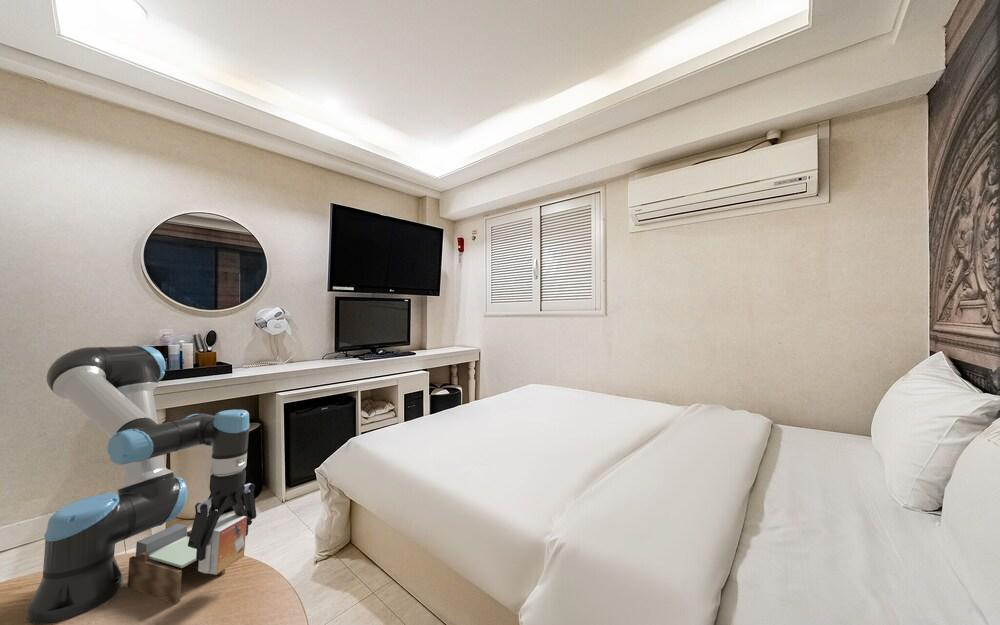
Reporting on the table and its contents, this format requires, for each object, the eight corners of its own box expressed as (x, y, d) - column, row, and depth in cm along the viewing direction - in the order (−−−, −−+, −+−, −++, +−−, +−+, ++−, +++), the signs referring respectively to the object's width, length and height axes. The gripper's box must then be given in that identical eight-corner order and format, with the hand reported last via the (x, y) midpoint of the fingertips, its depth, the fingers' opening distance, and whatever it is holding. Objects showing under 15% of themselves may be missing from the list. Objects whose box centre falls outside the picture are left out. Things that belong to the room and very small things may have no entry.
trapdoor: (135, 565, 94) (136, 541, 95) (176, 545, 103) (177, 523, 104) (181, 579, 89) (182, 554, 89) (220, 556, 98) (221, 534, 98)
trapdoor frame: (127, 587, 93) (129, 550, 94) (178, 560, 104) (180, 527, 105) (176, 603, 88) (178, 564, 88) (224, 573, 99) (226, 539, 99)
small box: (215, 576, 88) (219, 531, 88) (197, 572, 89) (200, 528, 90) (245, 556, 96) (247, 515, 96) (228, 552, 97) (230, 513, 97)
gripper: (194, 489, 82) (186, 591, 81) (275, 459, 103) (270, 540, 101) (171, 484, 85) (164, 583, 83) (256, 456, 105) (250, 535, 104)
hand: (222, 560), depth 92 cm, fingers closed on small box, 8 cm apart
